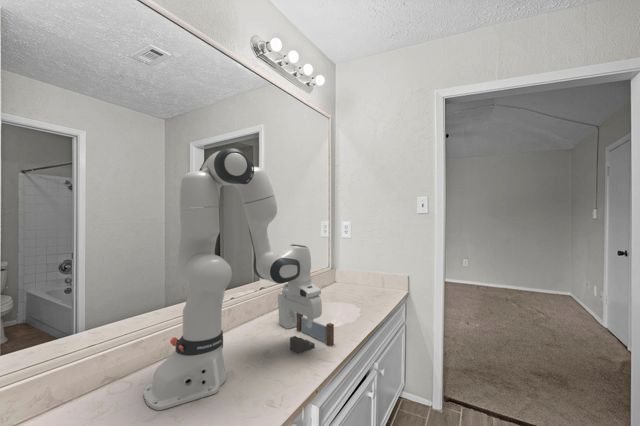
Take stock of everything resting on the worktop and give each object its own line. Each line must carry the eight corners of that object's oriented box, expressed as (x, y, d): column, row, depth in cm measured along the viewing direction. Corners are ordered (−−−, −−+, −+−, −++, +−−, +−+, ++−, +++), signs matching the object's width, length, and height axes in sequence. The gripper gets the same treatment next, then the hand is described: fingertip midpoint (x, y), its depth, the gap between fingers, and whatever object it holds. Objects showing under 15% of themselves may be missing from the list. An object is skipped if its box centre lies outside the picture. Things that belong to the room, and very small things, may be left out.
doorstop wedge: (298, 355, 107) (298, 341, 107) (289, 350, 111) (289, 337, 111) (314, 348, 113) (314, 335, 113) (306, 344, 116) (306, 331, 116)
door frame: (330, 346, 114) (330, 325, 114) (296, 330, 129) (296, 312, 129) (333, 344, 115) (333, 324, 115) (300, 329, 130) (300, 311, 130)
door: (325, 341, 116) (325, 326, 116) (301, 331, 128) (301, 317, 128) (328, 340, 118) (328, 325, 118) (304, 329, 129) (304, 316, 129)
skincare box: (297, 326, 134) (297, 293, 134) (285, 329, 130) (285, 295, 130) (289, 321, 141) (289, 289, 141) (277, 323, 137) (277, 291, 137)
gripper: (277, 284, 117) (277, 319, 117) (310, 294, 102) (311, 334, 102) (289, 281, 121) (290, 315, 121) (324, 290, 106) (325, 329, 106)
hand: (300, 324), depth 111 cm, fingers open, 8 cm apart
